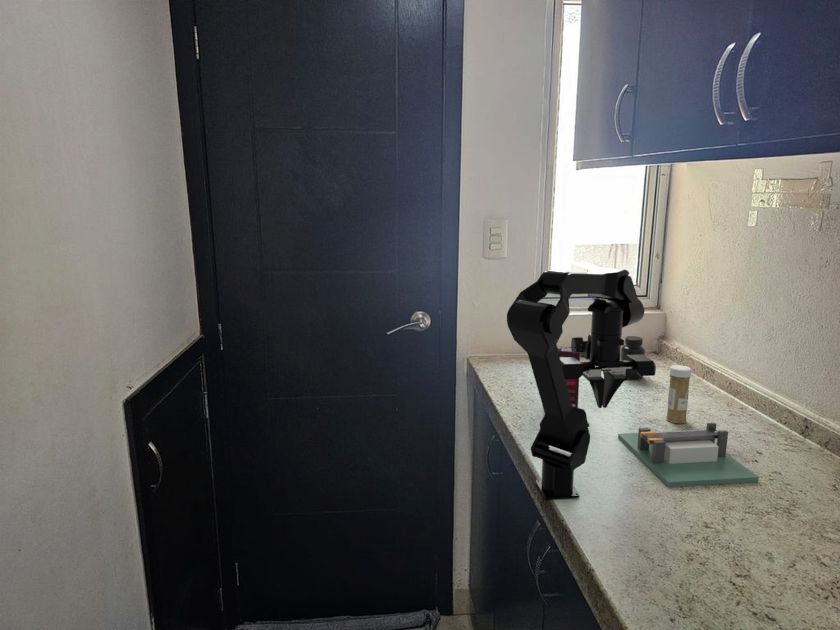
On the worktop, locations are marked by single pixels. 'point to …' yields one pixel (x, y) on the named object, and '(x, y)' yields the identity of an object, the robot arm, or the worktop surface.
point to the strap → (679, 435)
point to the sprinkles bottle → (678, 393)
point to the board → (691, 469)
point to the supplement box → (571, 383)
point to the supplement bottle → (632, 348)
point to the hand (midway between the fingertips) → (601, 407)
